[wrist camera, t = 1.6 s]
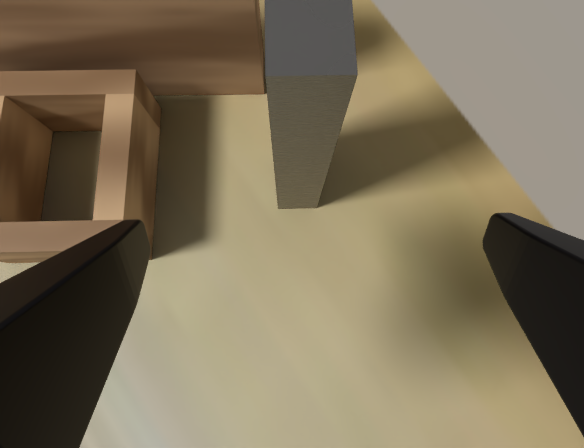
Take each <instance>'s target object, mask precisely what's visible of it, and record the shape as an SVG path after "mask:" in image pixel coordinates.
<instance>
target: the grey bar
mask: <svg viewBox="0 0 584 448" xmlns="http://www.w3.org/2000/svg"><path fill="white" fill-rule="evenodd" d="M357 75H358V74H357V61H356V47H355V34H354V21H353V7H352V0H265V77H266V88H267V98H268V109H269V119H270V129H271V140H272V150H273V161H274V171H275V182H276V192H277V203H278V209H291V208H317V205H318V202H319V199H320V195H321V192H322V189H323V186H324V182H325V179H326V176H327V173H328V169H329V166H330V163H331V160H332V156H333V153H334V150H335V147H336V143H337V140H338V137H339V134H340V130H341V127H342V124H343V121H344V117H345V114H346V111H347V108H348V104H349V101H350V98H351V95H352V91H353V88H354V85H355V82H356V78H357Z"/></svg>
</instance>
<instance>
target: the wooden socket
mask: <svg viewBox="0 0 584 448" xmlns="http://www.w3.org/2000/svg"><path fill="white" fill-rule="evenodd" d="M222 94H264V51H263V40H262V30H261V19H260V9H259V0H0V262H6V263H31V262H43V261H45V260H46V259H48V258H50V257H52V256H54V255H56V254H58V253H60V252H62V251H64V250H66V249H68V248H70V247H72V246H74V245H76V244H78V243H80V242H82V241H84V240H86V239H88V238H90V237H92V236H94V235H95V234H97V233H99V232H101V231H103V230H105V229H107V228H109V227H111V226H113V225H115V224H117V223H119V222H121V221H123V220H126V219H140V220H142V221H143V223H144V225H145V229H146V232H147V236H148V239H149V243H150V248H151V252H150V258H149V260H152V248H153V232H154V217H155V201H156V186H157V170H158V154H159V139H160V123H161V107H160V106H159V104H158V103H157V101H156V100H155V98H154V97H153V96H156V95H222ZM53 131H102V136H101V145H100V155H99V164H98V174H97V183H96V193H95V203H94V212H93V220H83V221H41V215H42V208H43V200H44V193H45V186H46V179H47V171H48V164H49V157H50V150H51V142H52V135H53Z"/></svg>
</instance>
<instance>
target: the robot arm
mask: <svg viewBox="0 0 584 448" xmlns="http://www.w3.org/2000/svg"><path fill="white" fill-rule="evenodd" d="M483 249H484V251H485V254H486V256H487V258H488V261H489V263H490V266H491V268H492V270H493V273H494V275H495V277H496V280H497V282H498V284H499V287H500V289H501V291H502V293H503V295H504V297H505V299H506V301H507V303H508V305H509V307H510V308H511V310H512V312H513V314H514V315H515V317H516V319H517V321H518V322H519V324H520V326H521V328H522V329H523V331H524V333H525V335H526V336H527V338H528V340H529V342H530V343H531V345H532V347H533V349H534V351H535V352H536V354H537V356H538V358H539V359H540V361H541V363H542V365H543V366H544V368H545V370H546V372H547V373H548V375H549V377H550V379H551V380H552V382H553V384H554V386H555V387H556V389H557V391H558V393H559V394H560V396H561V398H562V400H563V402H564V403H565V405H566V407H567V409H568V410H569V412H570V414H571V416H572V417H573V419H574V421H575V423H576V424H577V426H578V428H579V430H580V431H581V433H582V435H583V437H584V240H581V239H578V238H576V237H573V236H571V235H568V234H565V233H562V232H560V231H557V230H555V229H552V228H550V227H547V226H544V225H542V224H539V223H536V222H534V221H531V220H529V219H526V218H523V217H521V216H518V215H515V214H513V213H495V214H493V215H492V216H491V218H490V220H489V223H488V226H487V229H486V232H485V235H484V238H483ZM150 252H151V248H150V243H149V239H148V236H147V232H146V229H145V225H144V223H143V221H142V220H140V219H126V220H123V221H121V222H119V223H117V224H115V225H113V226H111V227H109V228H107V229H105V230H103V231H101V232H99V233H97V234H95V235H94V236H92V237H90V238H88V239H86V240H84V241H82V242H80V243H78V244H76V245H74V246H72V247H70V248H68V249H66V250H64V251H62V252H60V253H58V254H56V255H54V256H52V257H50V258H48V259H46V260H45V261H43V262H41V263H39V264H37V265H35V266H33V267H31V268H29V269H27V270H25V271H23V272H21V273H19V274H17V275H15V276H13V277H11V278H9V279H7V280H5V281H3V282H1V283H0V448H79V447H80V444H81V442H82V439H83V437H84V434H85V432H86V430H87V427H88V425H89V422H90V420H91V417H92V415H93V412H94V410H95V407H96V405H97V402H98V400H99V397H100V395H101V392H102V390H103V387H104V385H105V382H106V380H107V377H108V375H109V373H110V370H111V368H112V365H113V363H114V360H115V358H116V355H117V353H118V350H119V348H120V345H121V343H122V340H123V338H124V335H125V333H126V330H127V328H128V325H129V323H130V320H131V318H132V316H133V313H134V310H135V308H136V305H137V302H138V299H139V295H140V291H141V288H142V284H143V280H144V276H145V273H146V269H147V265H148V261H149V258H150Z"/></svg>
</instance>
